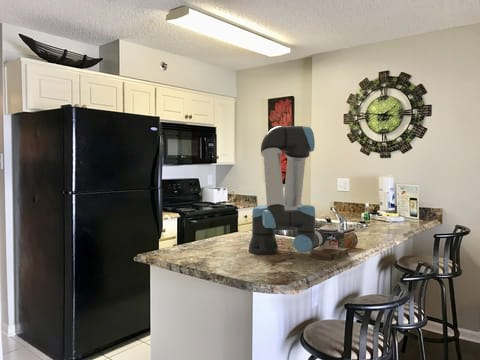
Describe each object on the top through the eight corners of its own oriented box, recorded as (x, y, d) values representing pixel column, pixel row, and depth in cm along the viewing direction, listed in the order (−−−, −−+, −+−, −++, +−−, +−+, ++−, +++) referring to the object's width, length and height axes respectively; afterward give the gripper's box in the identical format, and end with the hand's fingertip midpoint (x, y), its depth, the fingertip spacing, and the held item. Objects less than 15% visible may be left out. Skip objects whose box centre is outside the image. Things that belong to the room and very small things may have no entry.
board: (332, 260, 178) (332, 254, 178) (309, 256, 186) (310, 250, 186) (348, 254, 190) (348, 248, 190) (326, 250, 198) (326, 244, 198)
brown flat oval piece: (339, 251, 197) (339, 235, 197) (334, 250, 200) (334, 234, 200) (358, 248, 206) (358, 232, 206) (353, 246, 209) (353, 231, 208)
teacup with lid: (331, 250, 180) (331, 225, 180) (315, 247, 187) (315, 222, 186) (345, 246, 189) (345, 222, 188) (329, 243, 195) (329, 220, 195)
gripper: (293, 244, 179) (312, 237, 198) (338, 250, 167) (354, 241, 186) (293, 228, 179) (312, 222, 197) (338, 232, 167) (355, 226, 185)
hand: (333, 231), depth 191 cm, fingers closed on teacup with lid, 9 cm apart
